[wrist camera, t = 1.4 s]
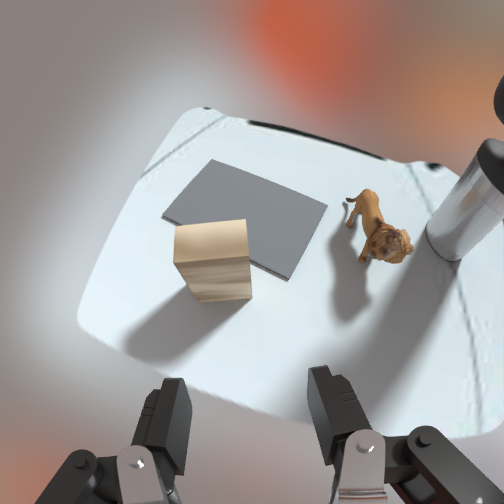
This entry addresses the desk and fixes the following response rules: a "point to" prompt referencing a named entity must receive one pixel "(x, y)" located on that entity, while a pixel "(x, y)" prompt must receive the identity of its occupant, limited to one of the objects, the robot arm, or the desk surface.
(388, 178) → the desk surface
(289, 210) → the slate mat
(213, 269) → the birch block
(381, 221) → the lion figurine
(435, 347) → the desk surface
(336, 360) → the desk surface
